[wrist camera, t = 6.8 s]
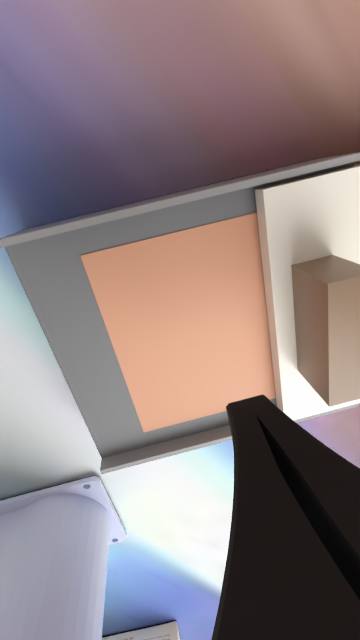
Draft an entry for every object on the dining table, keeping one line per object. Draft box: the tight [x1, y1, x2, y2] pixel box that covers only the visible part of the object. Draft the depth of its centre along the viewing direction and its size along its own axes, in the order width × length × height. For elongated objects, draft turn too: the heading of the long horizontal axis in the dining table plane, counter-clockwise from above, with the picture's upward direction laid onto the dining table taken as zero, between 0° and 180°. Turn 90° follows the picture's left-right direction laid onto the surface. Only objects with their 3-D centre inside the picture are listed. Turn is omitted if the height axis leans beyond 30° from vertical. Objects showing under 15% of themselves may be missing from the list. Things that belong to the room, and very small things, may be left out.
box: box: [0, 152, 360, 474], centre depth 17 cm, size 16×14×4 cm
